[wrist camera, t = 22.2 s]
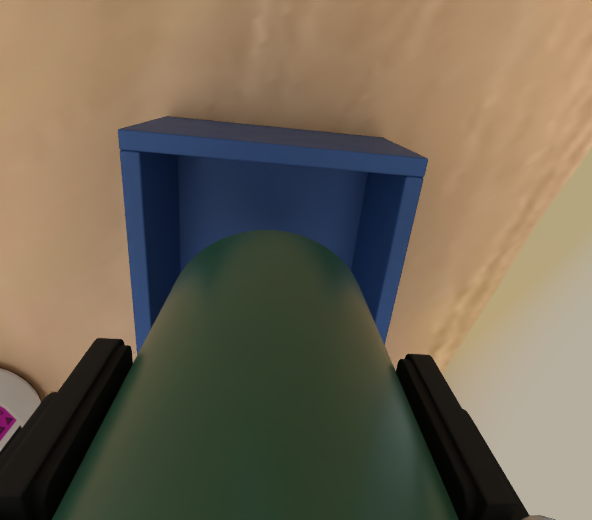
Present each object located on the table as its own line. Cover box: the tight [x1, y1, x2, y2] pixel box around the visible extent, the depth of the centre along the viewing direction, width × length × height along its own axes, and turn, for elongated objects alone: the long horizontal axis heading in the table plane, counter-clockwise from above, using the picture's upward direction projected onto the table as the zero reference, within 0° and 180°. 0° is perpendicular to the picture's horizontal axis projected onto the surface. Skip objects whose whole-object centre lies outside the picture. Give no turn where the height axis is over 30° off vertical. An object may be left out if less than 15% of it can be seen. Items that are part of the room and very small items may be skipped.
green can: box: [52, 230, 459, 520], centre depth 8 cm, size 7×7×11 cm
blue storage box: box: [118, 116, 428, 355], centre depth 23 cm, size 19×13×7 cm
